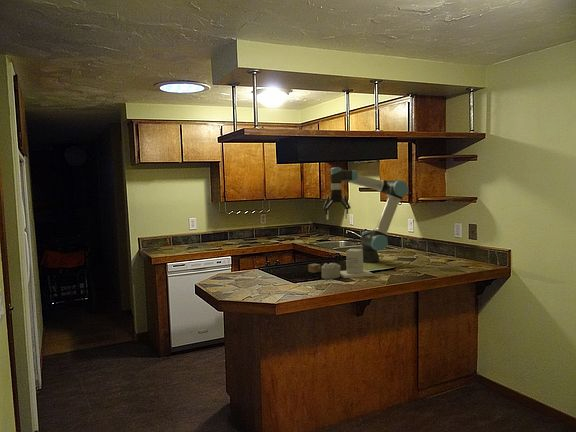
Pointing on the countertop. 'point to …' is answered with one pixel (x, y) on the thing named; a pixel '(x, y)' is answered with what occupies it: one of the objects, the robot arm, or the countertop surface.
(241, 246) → the countertop surface
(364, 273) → the counting board
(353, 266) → the supplement box
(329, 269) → the lumpy-topped squat cylinder
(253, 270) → the countertop surface
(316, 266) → the walnut block
